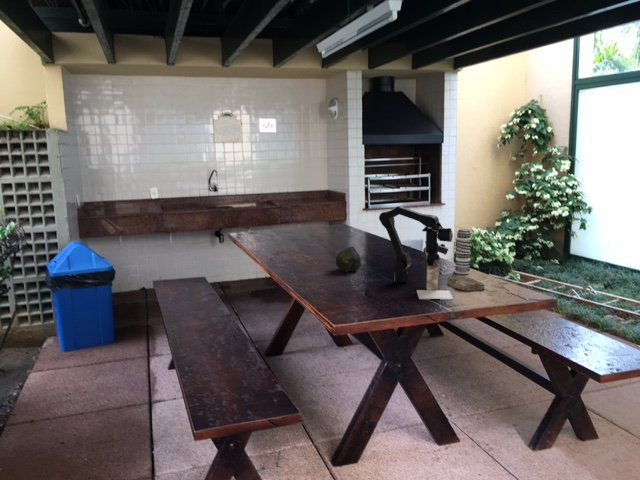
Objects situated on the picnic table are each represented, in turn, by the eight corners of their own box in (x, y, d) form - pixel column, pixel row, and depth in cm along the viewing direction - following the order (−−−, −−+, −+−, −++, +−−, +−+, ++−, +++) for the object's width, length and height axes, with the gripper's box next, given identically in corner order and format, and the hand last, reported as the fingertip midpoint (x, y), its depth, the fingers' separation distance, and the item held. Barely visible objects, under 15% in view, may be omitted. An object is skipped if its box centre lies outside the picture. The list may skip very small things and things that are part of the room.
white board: (419, 299, 253) (419, 298, 253) (416, 291, 267) (416, 290, 267) (453, 299, 252) (453, 298, 252) (448, 291, 266) (449, 290, 265)
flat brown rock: (441, 283, 284) (461, 292, 265) (441, 274, 283) (462, 282, 264) (464, 281, 288) (486, 290, 269) (465, 272, 287) (486, 281, 268)
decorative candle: (471, 274, 300) (473, 230, 295) (454, 273, 301) (456, 230, 297) (470, 270, 308) (472, 228, 304) (453, 270, 310) (455, 227, 306)
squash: (327, 262, 309) (343, 244, 302) (338, 258, 322) (354, 241, 316) (343, 280, 305) (360, 262, 299) (354, 275, 318) (370, 258, 312)
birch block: (427, 291, 267) (428, 267, 265) (426, 288, 272) (427, 265, 270) (437, 291, 267) (438, 268, 265) (436, 288, 272) (437, 265, 270)
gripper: (450, 243, 263) (449, 274, 266) (444, 237, 282) (443, 265, 284) (427, 243, 264) (426, 273, 267) (423, 237, 283) (422, 265, 285)
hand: (430, 269), depth 276 cm, fingers closed
